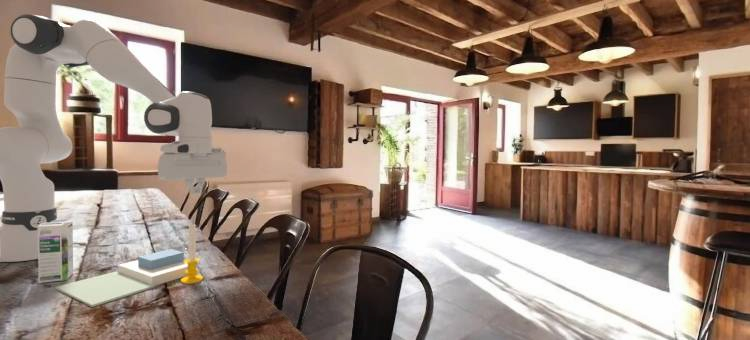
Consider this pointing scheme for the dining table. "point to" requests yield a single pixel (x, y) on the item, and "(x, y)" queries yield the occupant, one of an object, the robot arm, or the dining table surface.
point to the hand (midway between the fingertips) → (195, 193)
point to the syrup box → (55, 251)
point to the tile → (160, 259)
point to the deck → (154, 272)
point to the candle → (192, 259)
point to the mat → (104, 288)
